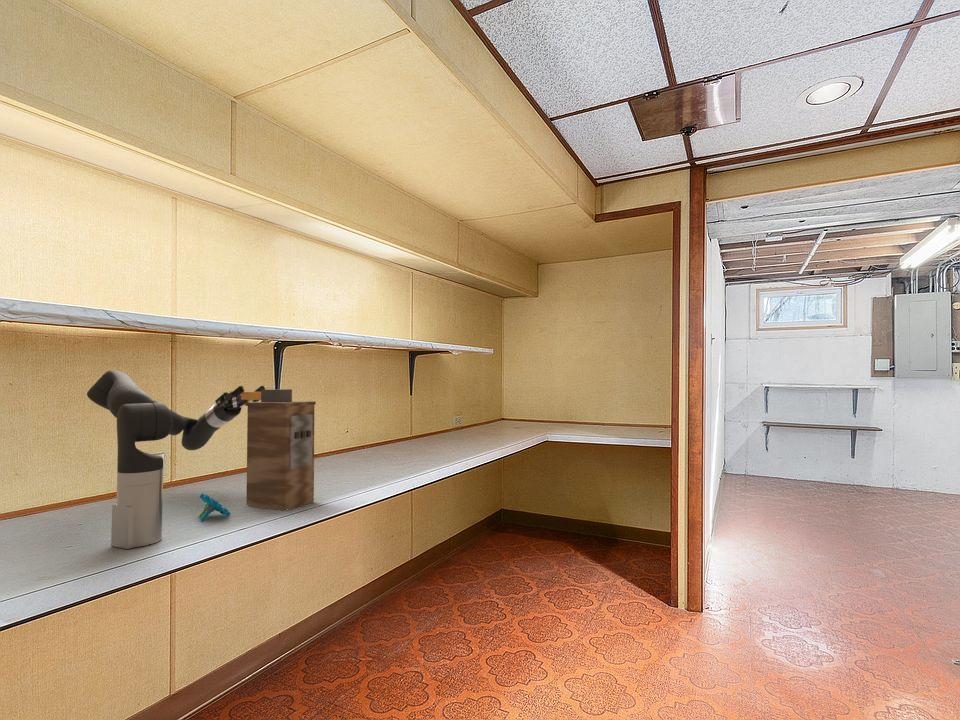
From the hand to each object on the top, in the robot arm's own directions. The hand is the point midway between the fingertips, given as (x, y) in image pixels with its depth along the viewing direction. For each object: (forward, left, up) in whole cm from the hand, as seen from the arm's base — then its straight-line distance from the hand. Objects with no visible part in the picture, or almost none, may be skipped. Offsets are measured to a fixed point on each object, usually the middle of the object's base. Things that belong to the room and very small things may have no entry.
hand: (253, 388), depth 164 cm
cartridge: (0, -6, -4) cm, 8 cm away
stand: (0, -13, -36) cm, 39 cm away
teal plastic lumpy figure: (-20, -8, -37) cm, 42 cm away
